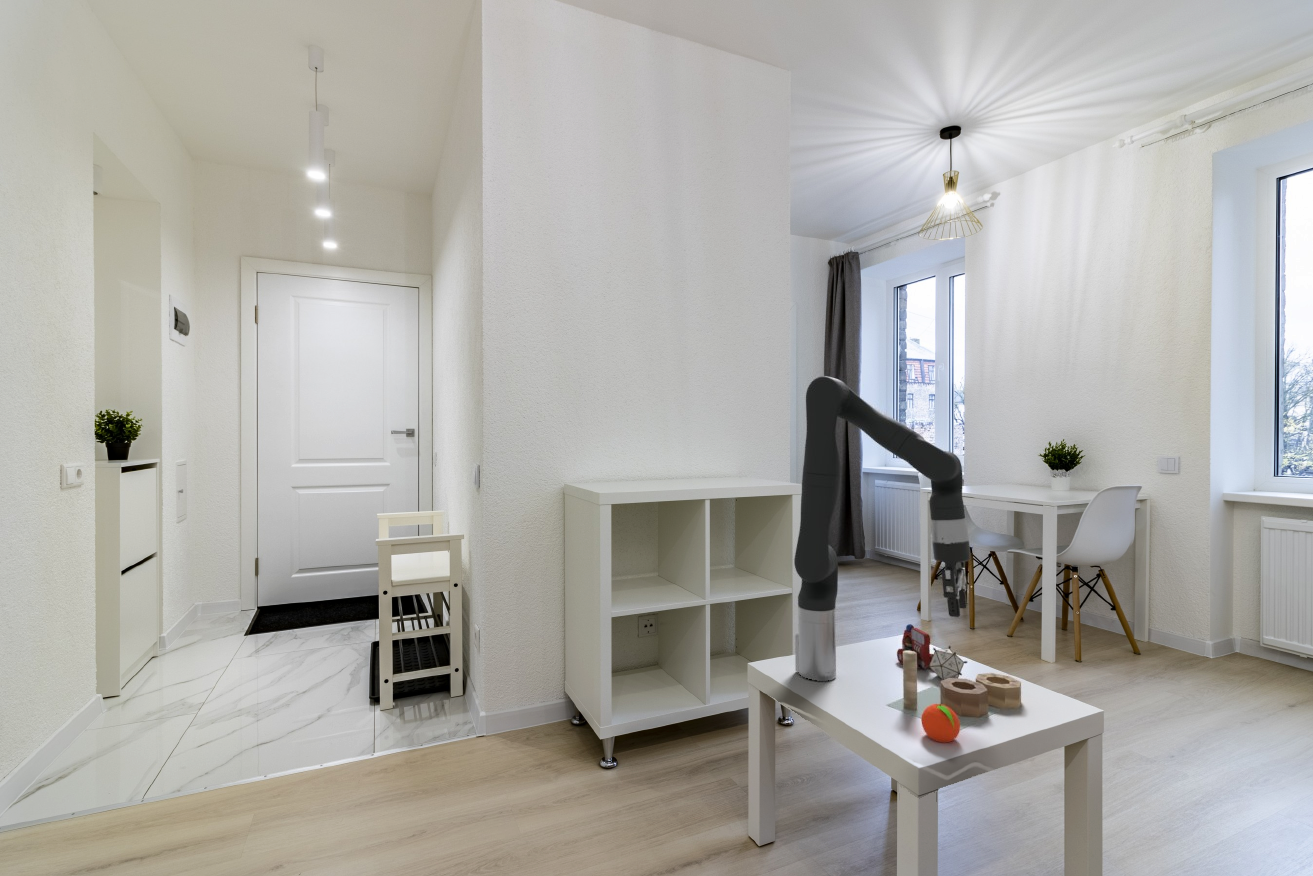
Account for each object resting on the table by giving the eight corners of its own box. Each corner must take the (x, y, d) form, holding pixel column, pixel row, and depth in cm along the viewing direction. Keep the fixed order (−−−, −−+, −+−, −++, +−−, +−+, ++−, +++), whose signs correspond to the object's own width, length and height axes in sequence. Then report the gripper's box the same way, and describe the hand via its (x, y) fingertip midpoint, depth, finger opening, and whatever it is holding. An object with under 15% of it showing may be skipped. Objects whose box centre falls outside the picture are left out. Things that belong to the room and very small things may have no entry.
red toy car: (917, 658, 169) (917, 620, 169) (941, 675, 157) (941, 633, 157) (893, 659, 168) (892, 620, 169) (915, 675, 156) (914, 634, 156)
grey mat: (886, 707, 137) (886, 704, 137) (932, 689, 147) (932, 686, 147) (956, 735, 124) (956, 732, 124) (1001, 712, 134) (1001, 709, 134)
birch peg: (900, 707, 136) (900, 652, 136) (908, 704, 137) (907, 649, 137) (912, 711, 133) (911, 655, 134) (920, 708, 135) (919, 653, 135)
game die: (955, 698, 151) (974, 674, 145) (920, 683, 153) (938, 658, 147) (953, 669, 158) (972, 645, 153) (920, 655, 160) (937, 631, 154)
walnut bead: (934, 706, 136) (933, 683, 136) (955, 697, 141) (955, 675, 141) (972, 720, 129) (972, 696, 129) (993, 710, 134) (993, 687, 134)
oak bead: (974, 704, 138) (973, 682, 138) (979, 692, 145) (979, 670, 145) (1018, 714, 133) (1018, 690, 133) (1022, 700, 140) (1021, 678, 140)
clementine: (971, 750, 117) (971, 713, 117) (937, 753, 116) (937, 715, 117) (946, 731, 125) (946, 696, 125) (914, 733, 124) (914, 698, 125)
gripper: (938, 535, 147) (945, 604, 146) (925, 543, 136) (933, 618, 135) (973, 535, 143) (981, 606, 142) (963, 543, 131) (971, 620, 130)
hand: (958, 612), depth 138 cm, fingers open, 8 cm apart
